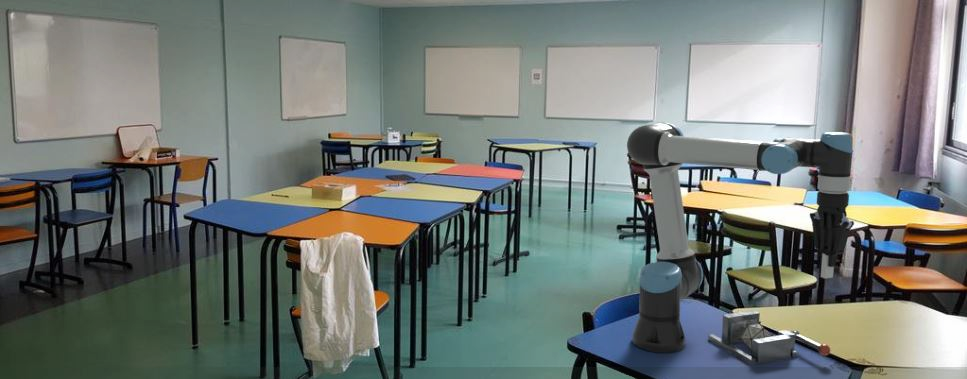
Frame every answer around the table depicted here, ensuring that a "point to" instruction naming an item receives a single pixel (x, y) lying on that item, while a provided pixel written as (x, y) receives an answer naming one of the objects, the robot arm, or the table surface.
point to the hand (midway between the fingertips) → (826, 277)
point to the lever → (812, 343)
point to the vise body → (763, 348)
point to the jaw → (737, 325)
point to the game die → (754, 334)
